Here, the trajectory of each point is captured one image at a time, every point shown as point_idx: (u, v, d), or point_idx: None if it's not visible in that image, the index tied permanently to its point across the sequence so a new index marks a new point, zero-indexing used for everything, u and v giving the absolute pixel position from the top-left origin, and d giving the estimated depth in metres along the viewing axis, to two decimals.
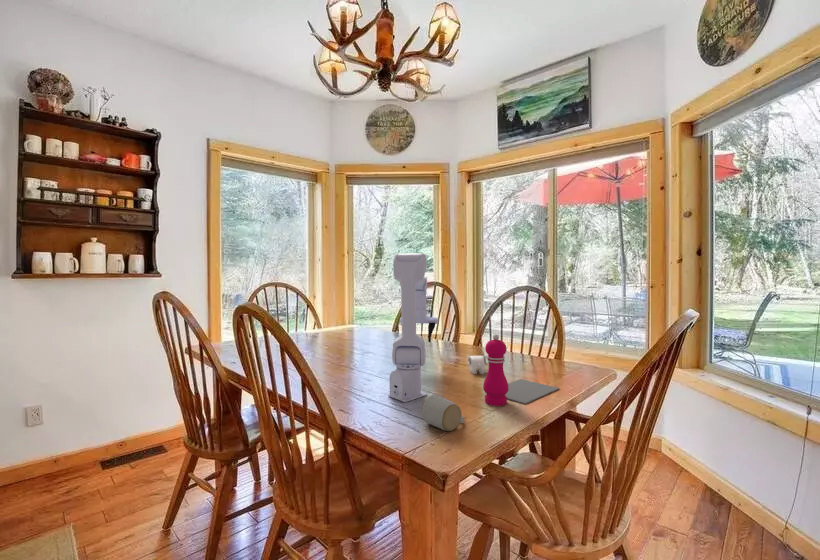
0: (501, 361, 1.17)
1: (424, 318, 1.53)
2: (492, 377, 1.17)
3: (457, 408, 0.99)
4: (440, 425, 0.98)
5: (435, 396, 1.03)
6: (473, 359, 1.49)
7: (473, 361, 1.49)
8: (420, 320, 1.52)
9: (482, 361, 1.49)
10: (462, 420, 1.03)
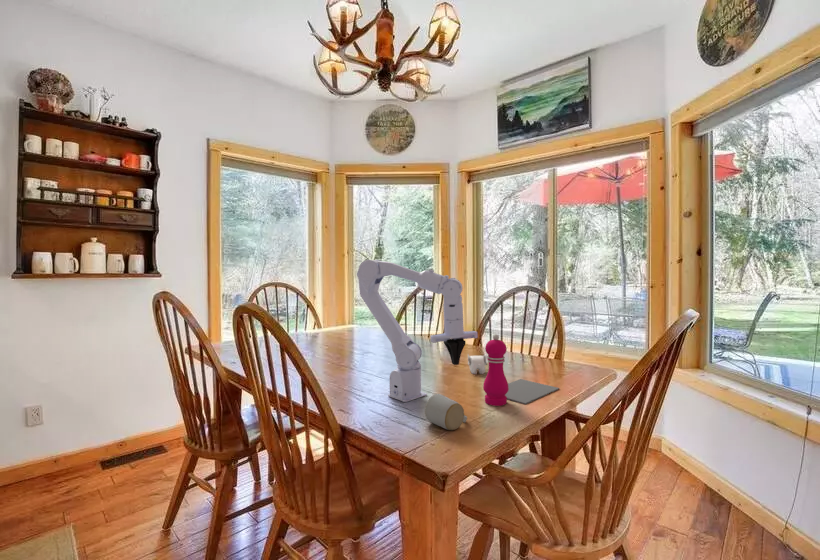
0: (501, 361, 1.17)
1: (463, 332, 1.21)
2: (492, 377, 1.17)
3: (460, 407, 1.00)
4: (443, 424, 0.98)
5: (438, 395, 1.04)
6: (473, 359, 1.49)
7: (473, 361, 1.49)
8: (460, 334, 1.20)
9: (482, 361, 1.49)
10: (465, 419, 1.03)
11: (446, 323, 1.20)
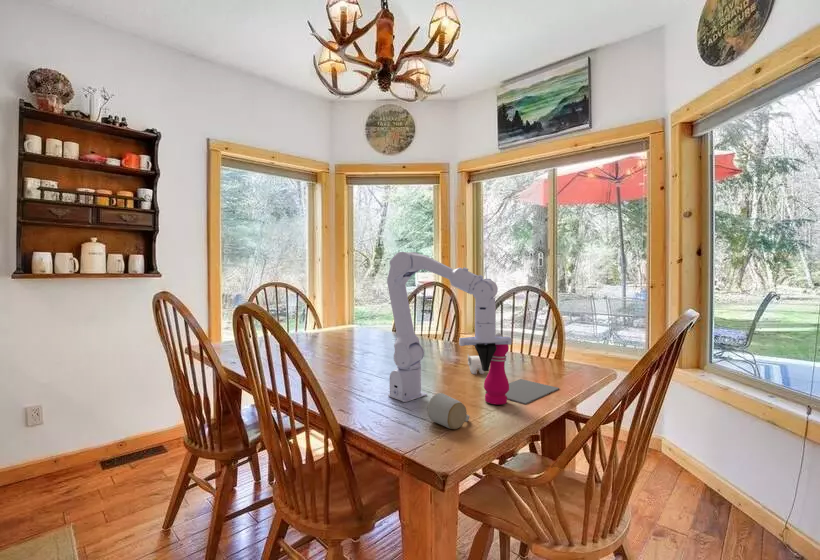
0: (503, 360, 1.17)
1: (494, 337, 1.13)
2: (494, 375, 1.17)
3: (462, 406, 1.01)
4: (445, 423, 0.99)
5: (440, 395, 1.04)
6: (473, 359, 1.49)
7: (473, 361, 1.49)
8: (491, 339, 1.12)
9: None
10: (467, 418, 1.04)
11: (476, 326, 1.14)
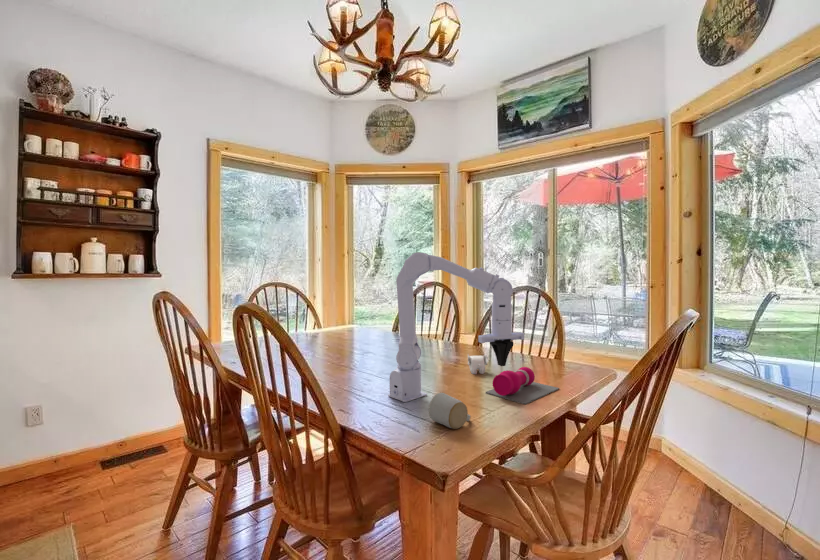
0: (527, 376, 1.30)
1: (511, 333, 1.19)
2: None
3: (463, 406, 1.01)
4: (447, 423, 0.99)
5: (441, 394, 1.04)
6: (473, 359, 1.49)
7: (473, 361, 1.49)
8: (509, 335, 1.18)
9: (482, 361, 1.49)
10: (468, 418, 1.04)
11: (495, 323, 1.18)
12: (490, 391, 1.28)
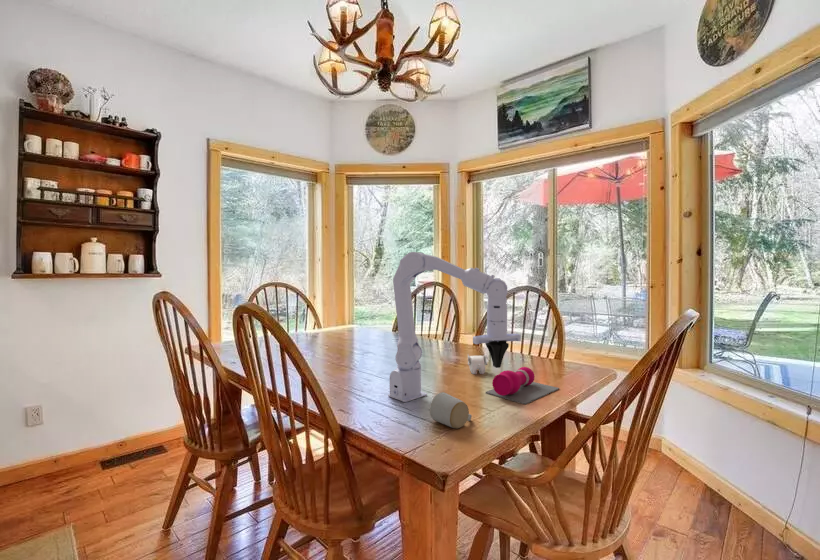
0: (527, 376, 1.30)
1: (506, 334, 1.18)
2: None
3: (464, 406, 1.01)
4: (448, 422, 0.99)
5: (443, 394, 1.05)
6: (473, 359, 1.49)
7: (473, 361, 1.49)
8: (504, 336, 1.16)
9: (482, 361, 1.49)
10: (469, 418, 1.04)
11: (490, 324, 1.17)
12: (490, 391, 1.28)
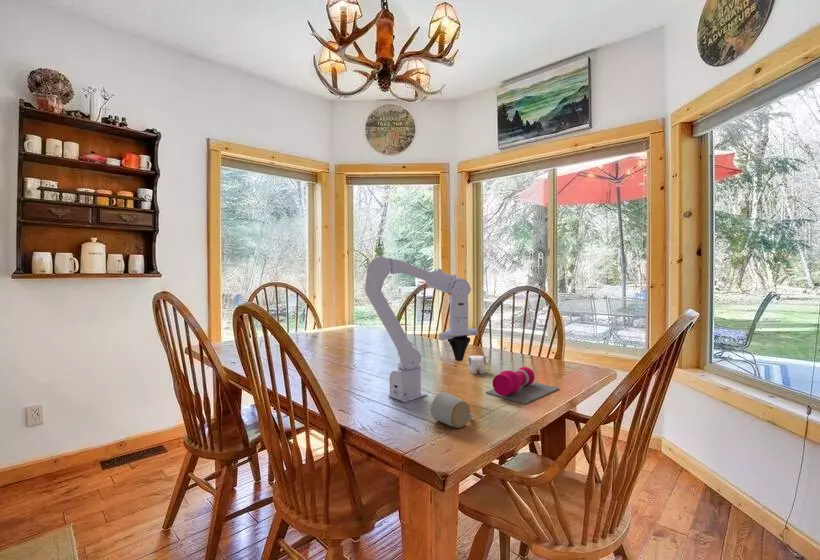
0: (527, 376, 1.30)
1: None
2: None
3: (466, 405, 1.01)
4: (449, 422, 1.00)
5: (444, 393, 1.05)
6: (473, 359, 1.49)
7: (473, 361, 1.49)
8: (467, 331, 1.25)
9: (482, 361, 1.49)
10: (470, 417, 1.04)
11: (454, 321, 1.24)
12: (490, 391, 1.28)
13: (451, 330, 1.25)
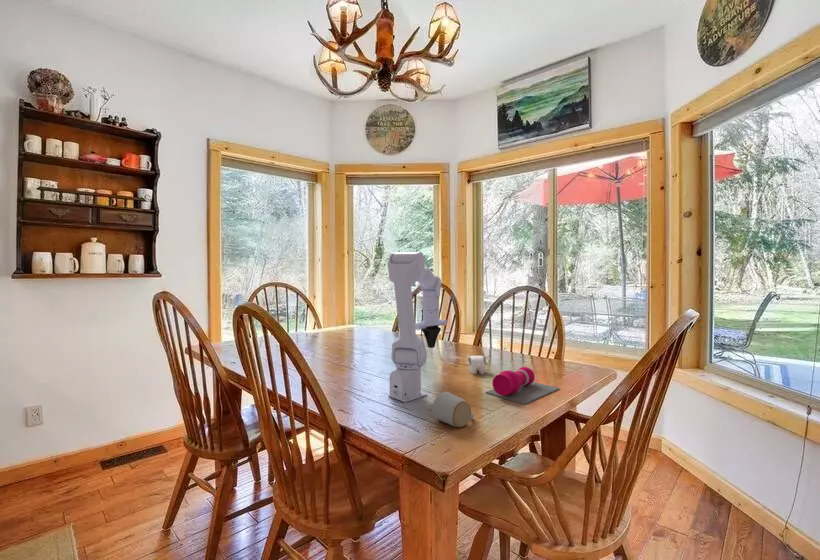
0: (527, 376, 1.30)
1: None
2: None
3: (467, 405, 1.02)
4: (450, 421, 1.00)
5: (445, 393, 1.05)
6: (473, 359, 1.49)
7: (473, 361, 1.49)
8: (438, 322, 1.44)
9: (482, 361, 1.49)
10: (472, 417, 1.05)
11: (427, 313, 1.43)
12: (490, 391, 1.28)
13: (424, 321, 1.44)
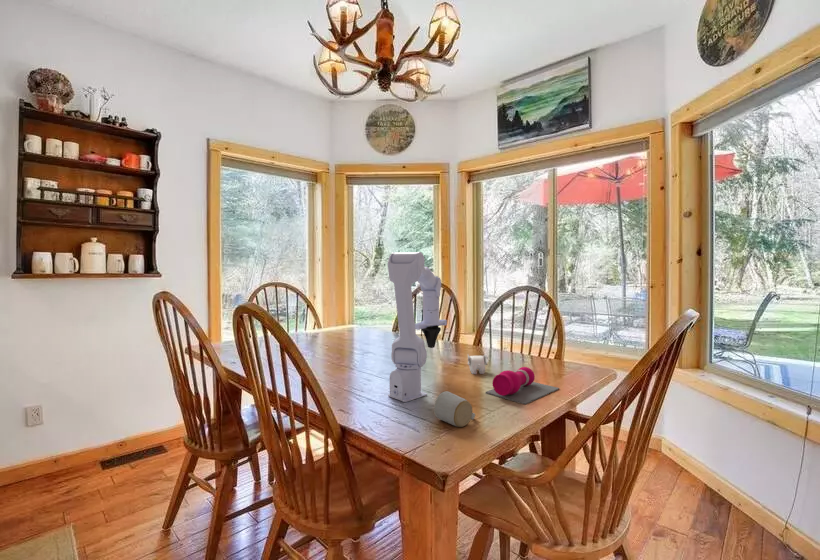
0: (527, 376, 1.30)
1: None
2: None
3: (468, 404, 1.02)
4: (452, 421, 1.00)
5: (446, 393, 1.06)
6: (473, 359, 1.49)
7: (473, 361, 1.49)
8: (438, 322, 1.44)
9: (482, 361, 1.49)
10: (473, 416, 1.05)
11: (427, 313, 1.43)
12: (490, 391, 1.28)
13: (424, 321, 1.44)
